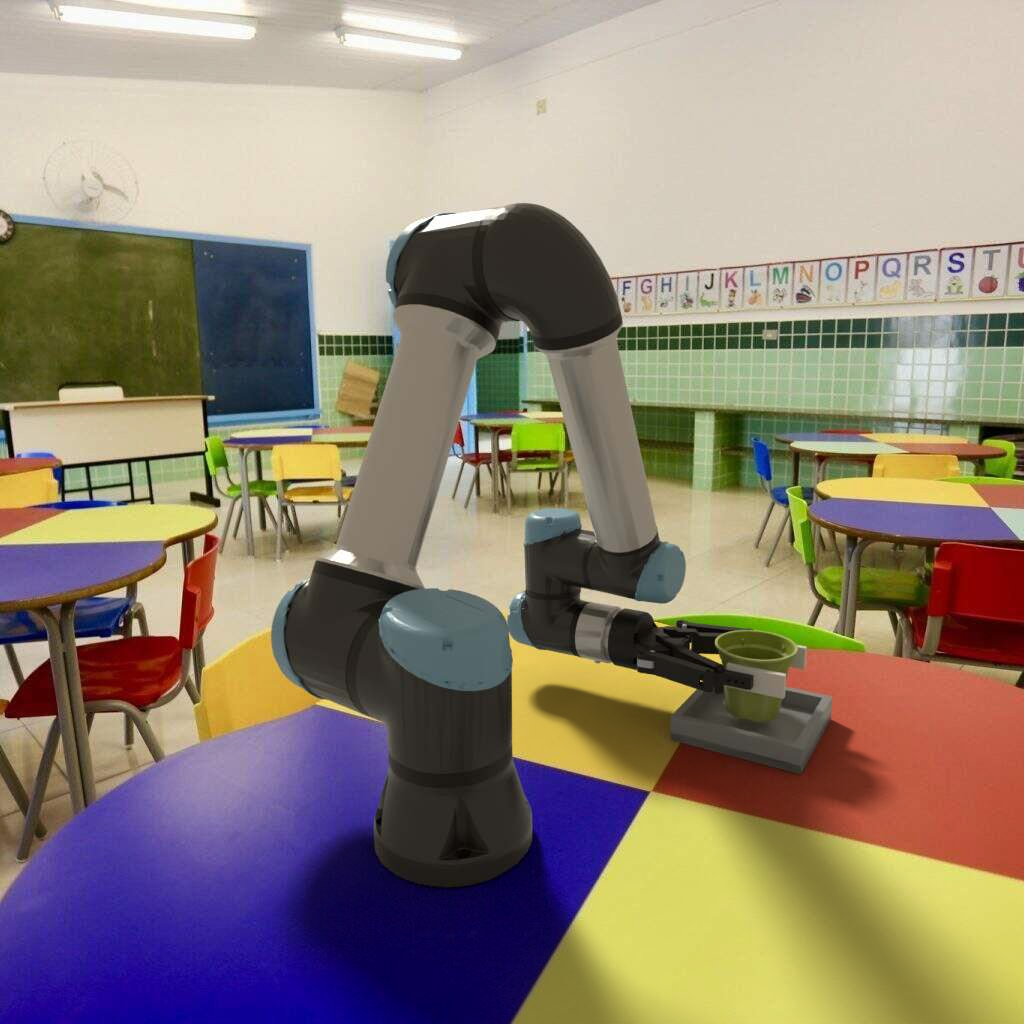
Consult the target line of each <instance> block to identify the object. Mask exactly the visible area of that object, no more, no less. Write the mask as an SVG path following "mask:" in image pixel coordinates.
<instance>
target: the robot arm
mask: <svg viewBox="0 0 1024 1024" xmlns="http://www.w3.org/2000/svg"><path fill="white" fill-rule="evenodd" d="M385 282H386V283H388V285H389V287H390V289H388V290H387V293H388V294H387V295H388V296H389V299H390V301H391V304H392V306H393V307H394V309H393V312H392V319H393V322H394V323H395V325H396V327H397V329H398V331H399V332H400V337H399V341H398V345H397V349H396V351H395V354H394V358H393V361H392V364H391V367H390V371H389V374H388V377H387V380H386V384H385V387H384V390H383V393H382V396H381V399H380V403H379V406H378V409H377V412H376V415H375V419H374V422H373V426H372V428H371V432H370V436H369V438H368V441H367V445H366V448H365V451H364V454H363V458H362V461H361V463H360V467H359V471H358V473H357V474H358V475H357V477H356V480H355V483H354V487H353V490H352V492H351V496H350V500H349V503H348V506H347V508H346V512H345V516H344V519H343V523H342V525H341V529H340V532H339V536H338V539H337V541H336V545H335V546H333V548H332V549H329V550H327V551H325V552H324V553H322V554H321V555H318V556H317V557H316V559H315V561H314V564H313V568H312V571H311V574H310V577H309V578H308V579H307V578H306V579H305V580H301V581H300V582H297V584H295V585H294V588H293V589H291V590H288V591H287V592H286V593H285V594H284V595H283V596H282V598H281V600H280V601H279V603H278V605H277V607H276V610H275V611H274V615H273V619H272V623H271V630H270V631H271V632H270V644H271V650H272V651H271V652H272V654H273V658H274V660H275V662H276V664H277V666H278V669H279V670H280V671H281V673H282V674H283V676H285V678H286V679H287V680H288V681H289V682H291V683H293V684H294V685H295V686H296V687H299V688H301V689H303V690H304V691H305V692H306V693H308V694H309V695H312V696H313V697H314V698H316V699H321V700H327V701H330V702H332V703H334V704H337V705H339V706H342V707H343V708H347V709H349V710H352V711H354V712H356V713H358V714H361V715H364V716H366V717H369V718H371V719H374V720H377V721H378V722H381V723H384V725H385V727H386V737H387V738H386V740H387V749H388V750H387V751H388V752H387V753H388V770H387V774H386V777H385V780H384V783H383V784H384V785H383V788H382V791H381V794H380V798H379V801H378V804H377V805H378V806H377V809H376V812H375V815H374V819H373V820H374V821H373V839H374V841H373V842H374V850H375V854H376V857H377V856H378V857H377V859H378V858H379V859H378V860H379V862H380V863H381V865H382V866H383V865H384V866H385V867H386V868H388V869H389V870H390V871H392V872H393V873H394V874H395V875H394V874H393V873H392V874H393V875H394V876H396V875H397V876H396V877H398V876H399V877H398V878H400V877H401V878H400V879H402V878H404V879H406V880H405V881H407V880H409V881H411V882H410V883H412V881H413V882H416V883H418V884H417V885H420V884H424V885H423V886H425V885H431V886H430V887H432V886H437V887H436V888H458V887H465V886H466V887H467V886H472V885H477V884H480V883H484V882H487V881H490V880H493V879H495V878H497V877H499V876H501V875H503V874H504V873H503V872H505V871H507V870H508V869H510V868H511V867H512V866H514V865H515V864H516V865H518V864H519V863H518V862H519V861H520V860H521V858H522V857H523V858H524V857H525V856H526V855H525V854H527V853H528V851H529V850H528V849H530V848H529V847H531V846H532V845H531V844H532V841H533V814H532V809H531V805H530V803H529V801H528V798H527V796H526V795H525V792H524V789H523V786H522V781H521V780H520V777H519V774H518V771H517V768H516V766H515V762H514V758H513V755H514V753H513V677H512V676H513V672H512V671H513V662H514V661H513V660H514V659H513V651H512V647H511V640H510V636H511V638H512V639H513V640H514V641H515V642H517V643H519V644H522V645H525V646H528V647H531V648H535V649H537V650H540V651H541V650H542V651H549V652H554V653H558V654H563V655H567V656H574V657H578V658H581V659H582V658H583V659H587V660H591V661H593V662H594V663H595V664H600V663H604V664H611V663H612V665H615V666H616V667H621V668H626V669H629V670H634V671H636V672H638V673H639V674H645V675H652V676H656V677H659V678H662V679H665V680H668V681H671V682H674V683H678V684H680V685H684V686H686V687H689V688H693V689H695V690H696V689H698V690H701V691H704V692H712V691H713V687H715V693H716V694H722V693H723V692H724V685H726V687H731V688H735V689H740V690H744V691H749V692H754V693H758V694H763V695H767V696H772V697H776V698H781V699H784V697H785V689H786V687H787V686H786V685H787V684H786V683H787V678H786V674H784V673H780V672H775V671H770V670H765V669H760V668H755V667H750V666H745V665H740V664H735V663H730V662H728V664H727V668H726V669H725V666H724V665H722V663H719V662H717V661H715V660H713V659H710V658H709V657H706V656H704V655H719V651H718V649H717V648H716V646H715V640H716V638H717V637H718V636H720V635H721V634H724V633H727V632H731V631H737V630H754V629H753V628H751V627H750V628H746V627H745V628H744V627H735V626H725V625H718V624H717V625H716V624H709V623H708V624H705V623H697V622H693V621H692V622H691V621H688V620H683V619H678V620H676V622H675V626H673V625H671V626H669V625H664V626H658V624H656V622H655V621H654V620H655V619H654V618H653V615H651V613H649V612H647V611H644V610H638V609H636V610H635V609H631V608H621V607H620V606H617V605H611V604H605V603H598V602H592V601H586V600H582V599H581V593H582V589H584V590H585V589H587V590H590V591H596V592H600V593H604V594H609V595H613V596H618V597H622V598H626V599H629V600H630V599H631V600H635V601H636V602H645V603H646V602H647V603H654V604H661V605H662V604H668V603H671V602H672V601H673V600H675V599H676V597H677V595H678V594H679V593H680V591H681V589H682V588H683V585H684V582H685V577H686V570H687V569H686V568H687V564H686V563H687V562H686V556H685V554H684V552H683V551H682V550H681V548H680V547H679V545H676V544H674V543H669V542H668V541H665V540H662V541H661V540H660V535H659V531H658V526H657V523H656V519H655V513H654V509H653V504H652V501H651V500H652V499H651V496H650V490H649V486H648V480H647V475H646V471H645V467H644V461H643V457H642V453H641V448H640V444H639V438H638V434H637V429H636V424H635V420H634V416H633V410H632V405H631V401H630V397H629V392H628V387H627V383H626V378H625V374H624V373H625V372H624V368H623V364H622V363H623V362H622V358H621V353H620V349H619V345H618V340H617V335H619V333H620V331H621V329H622V328H623V325H624V321H623V317H622V312H621V306H620V303H619V302H620V301H619V298H618V295H617V292H616V289H615V286H614V284H613V281H612V279H611V276H610V273H609V272H608V270H607V269H606V266H605V265H604V263H603V260H602V259H601V256H599V254H598V252H597V251H596V250H595V248H594V247H593V245H592V244H591V243H590V241H589V240H588V239H587V237H586V236H585V235H584V234H583V233H582V232H581V231H580V229H578V228H577V227H576V226H575V225H574V224H573V223H572V222H571V221H570V220H568V219H567V218H566V217H565V216H564V215H562V214H560V213H559V212H557V211H555V210H553V209H551V208H549V207H546V206H545V205H540V204H537V203H530V202H529V203H527V202H517V203H516V202H515V203H511V204H507V205H504V206H497V207H491V208H490V207H489V208H483V209H475V210H471V211H465V212H458V213H457V212H441V213H437V214H434V215H432V216H429V217H428V218H427V217H426V218H423V219H419V220H417V221H415V222H413V223H410V225H408V226H407V227H406V228H404V229H403V230H402V232H400V234H399V235H398V236H397V238H396V239H395V241H394V242H393V244H392V246H391V249H390V250H389V254H388V258H387V261H386V266H385ZM517 321H518V322H523V323H524V324H525V326H526V327H527V328H528V330H529V332H530V335H531V339H532V343H533V346H534V349H535V350H537V351H538V352H540V353H542V354H544V355H546V358H547V363H548V365H549V368H550V374H551V377H552V380H553V383H554V387H555V388H554V389H555V391H556V395H557V398H558V403H559V406H560V409H561V414H562V418H563V420H564V421H563V422H564V424H565V428H566V432H567V435H568V439H569V444H570V447H571V451H572V455H573V459H574V462H575V466H576V470H577V474H578V477H579V481H580V484H581V488H582V492H583V496H584V499H585V500H584V501H585V503H586V507H587V510H588V514H589V518H590V522H591V525H592V529H593V530H586V529H582V527H583V525H582V523H581V516H580V514H579V513H578V512H577V511H575V510H572V509H570V508H561V507H559V508H557V507H555V508H554V507H552V508H541V509H537V510H535V511H532V512H530V513H528V515H527V516H526V518H525V521H524V522H525V524H524V542H523V547H524V550H523V551H524V573H525V574H524V577H525V579H524V581H525V590H523V591H519V592H518V593H517V594H516V595H515V596H514V597H513V599H512V600H511V602H510V604H509V607H508V608H509V611H508V612H509V613H508V614H507V616H506V617H507V618H506V617H505V616H504V614H503V613H502V611H501V610H500V609H499V608H498V607H497V606H496V605H495V604H494V603H492V602H491V601H489V600H487V599H485V598H484V597H481V596H479V595H476V594H473V593H470V592H467V591H462V590H459V589H451V588H449V589H447V590H441V589H439V588H436V587H435V588H433V587H432V588H431V587H430V588H426V587H425V586H424V584H423V582H422V580H421V578H420V576H419V574H418V571H417V566H418V562H419V559H420V555H421V552H422V549H423V545H424V541H425V538H426V535H427V531H428V528H429V524H430V521H431V517H432V514H433V511H434V508H435V504H436V501H437V498H438V493H439V490H440V487H441V485H442V484H441V483H442V481H443V477H444V474H445V470H446V467H447V463H448V459H449V456H450V454H451V450H452V446H453V443H454V440H455V436H456V434H457V433H456V432H457V429H458V426H459V422H460V418H461V416H462V412H463V409H464V405H465V402H466V398H467V395H468V392H469V389H470V388H469V387H470V385H471V381H472V377H473V375H474V371H475V367H476V364H477V361H478V360H479V359H481V358H483V357H485V356H487V355H490V354H491V353H492V352H493V351H494V350H495V349H496V345H497V342H498V339H499V335H500V332H501V330H502V329H501V328H502V326H503V323H504V322H517ZM796 645H797V646H798V653H797V654H796V656H795V657H793V660H792V664H791V665H790V667H789V668H794V669H799V670H803V671H804V670H805V669H806V668H807V665H806V664H807V663H806V662H807V653H808V652H807V650H808V647H807V645H800V644H796ZM526 852H527V853H526ZM524 855H525V856H524ZM523 858H522V859H523ZM521 861H522V860H521ZM516 865H515V866H516ZM384 866H383V867H384ZM515 866H514V867H515ZM385 867H384V868H385ZM386 868H385V869H386ZM388 869H387V870H388ZM511 869H512V868H511ZM511 869H510V870H511ZM389 870H388V871H389ZM390 871H389V872H390ZM508 871H509V870H508ZM508 871H507V872H508ZM502 873H503V874H502ZM505 873H506V872H505ZM500 874H501V875H500ZM498 875H499V876H498ZM404 879H403V880H404ZM409 881H408V882H409ZM416 883H415V884H416ZM441 886H443V887H441ZM453 886H454V887H453Z"/></svg>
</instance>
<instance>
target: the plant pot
mask: <svg viewBox="0 0 1024 1024" xmlns="http://www.w3.org/2000/svg"><path fill="white" fill-rule="evenodd" d="M797 645H798V644H796V643H795V642H794V641H793V640H792V639H790V638H788V637H786V636H784V635H782V634H778V633H775V632H771V631H770V632H769V631H765V630H764V631H763V630H758V629H757V630H755V629H753V630H737V631H731V632H727V633H724V634H721V635H720V636H718V637H717V638H716V640H715V646H716V648H717V649H718V651H719V654H718V655H719V656H718V657H719V659H720V660H721V664H722V665H724V666H725V669H726V668H727V664H728V662H730V663H735V664H740V665H745V666H750V667H755V668H760V669H765V670H770V671H775V672H780V673H784V674H786V679H787V678H788V673H789V670H790V669H789V668H791V667H790V665H791V664H792V660H793V657H795V656H796V654H797V653H798V646H797ZM724 690H725V701H726V709H727V711H728V712H729V713H730V714H731V715H733V716H734V717H736V718H738V719H750V720H752V721H754V722H767V721H771V720H774V719H775V718H776V717H777V716H778V714H779V711H780V707H781V702H782V699H781V698H776V697H772V696H767V695H763V694H758V693H754V692H749V691H744V690H740V689H735V688H731V687H726V685H724Z"/></svg>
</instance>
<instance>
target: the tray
mask: <svg viewBox="0 0 1024 1024" xmlns="http://www.w3.org/2000/svg"><path fill="white" fill-rule="evenodd" d="M832 711H833V695H832V696H831V695H826V694H822V693H818V692H817V693H816V692H813V691H807V690H802V689H799V688H794V687H793V688H792V687H789V686H786V689H785V697H784V699H782V702H781V707H780V711H779V714H778V716H777V717H776V718H775V719H774V720H771V721H767V722H754V721H752V720H750V719H738V718H736V717H734V716H733V715H731V714H730V713H729V712H728V711H727V709H726V701H725V690H724V692H723V693H722V694H716V693H715V687H713V691H712V692H704V691H701V690H698V689H695V691H694V692H692V693H691V695H689V697H687V699H685V701H684V702H683V703H682V704H681V705H680V706H679V707H678V708H677V709H676V710H675V711H674V712H673V713H672V714H671V715H670V727H669V728H670V729H669V735H670V736H669V740H670V741H674V742H678V743H681V744H684V745H689V746H692V747H696V748H700V749H704V750H708V751H711V752H715V753H719V754H722V755H726V756H729V757H734V758H737V759H741V760H744V761H749V762H753V763H756V764H761V765H764V766H766V767H771V768H775V769H778V770H782V771H783V770H784V771H787V772H791V773H794V774H797V775H802V773H803V772H804V769H805V767H806V765H807V764H808V763H809V760H810V759H811V757H812V754H813V753H814V751H815V749H816V748H817V745H818V744H819V742H820V740H821V738H822V736H823V735H824V733H825V732H826V729H827V727H828V726H829V724H830V723H831V720H832Z"/></svg>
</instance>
